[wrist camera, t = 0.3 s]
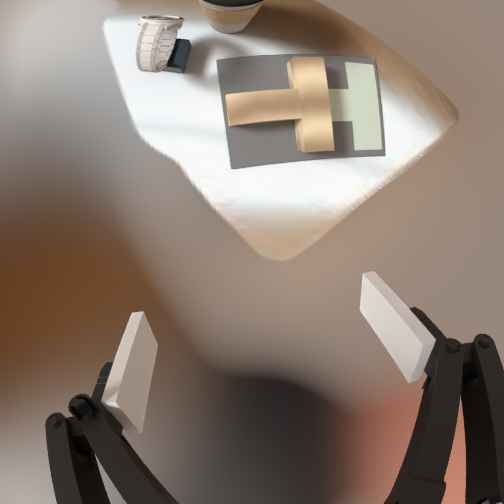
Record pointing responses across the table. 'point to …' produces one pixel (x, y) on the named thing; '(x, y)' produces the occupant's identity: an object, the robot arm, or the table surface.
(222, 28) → the coffee cup
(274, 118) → the t block
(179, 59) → the watch
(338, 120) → the mat
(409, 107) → the table surface
